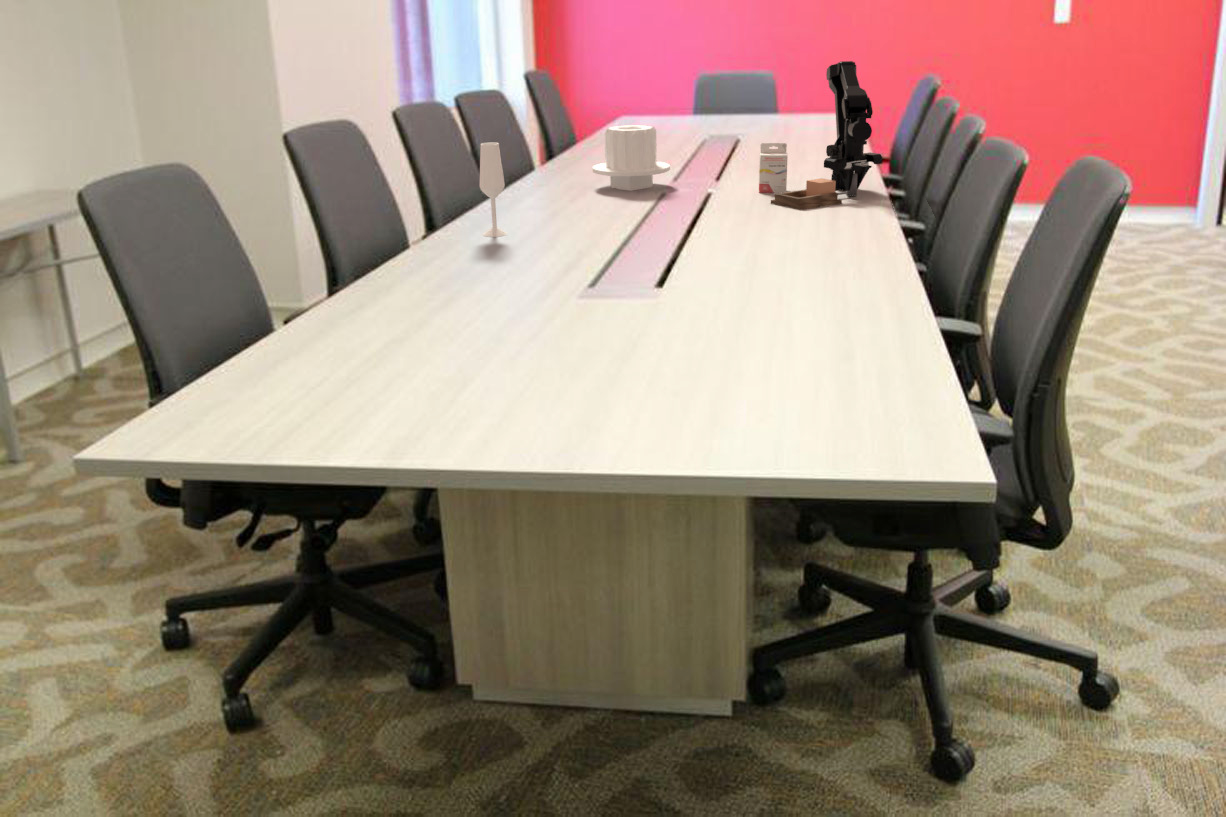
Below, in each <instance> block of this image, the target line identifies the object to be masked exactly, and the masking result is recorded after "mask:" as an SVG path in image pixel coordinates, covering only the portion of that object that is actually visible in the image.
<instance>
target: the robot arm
mask: <svg viewBox="0 0 1226 817" xmlns="http://www.w3.org/2000/svg"><path fill="white" fill-rule="evenodd" d="M825 75H826V80H827V81H828V87H829V89H830V90H831V91H832V93H833V94H834V107H835V125H836V126H835V127H836V140H835V141H834V144H829V145H827V146H826V149H825V150H826V151H825V152H826V156H827V157H826V158H825V159H824V160H823V168H826V169H829V170H831V171H832V173H831V179H830V180H834V181H836V186H835V190H837V191H838V190H839V191H849V190H850V187H851V182H852V177H853V173H857V174H858V178H857V190H859V187H860V185H862V184H861V183H862V182H863V180H864V178H865V176H866V175H867V173H868V172H869V170H870V169H871V168H872V167H873V166H872V165H869V162H870V163H873V165H880V164H883V156H882V155H881V153H877V152H865V153H864V145H867V143H868V139H869V138H871V136H872V132H873V129H872V126H871V124H869V122H867V119H872V116H873V106H872V101H871V100H870V96H868V93H867V91H866V89H863V88H862V87H861V86H860V82H859V80H858V75H857V64H856V62H855V61H852V60H846V61H842V60H841V61H839V62H837V63H835V64H831V65H829V66H828V67H827V68H826V74H825Z"/></svg>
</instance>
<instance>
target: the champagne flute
mask: <svg viewBox="0 0 1226 817" xmlns="http://www.w3.org/2000/svg"><path fill="white" fill-rule="evenodd" d="M500 151H501V150H500V143H499V142H496V141H495V142H494V141H493V142H482V143H480V153H479V154H480V155H479V156H480V157H479V158H480V159H479V189H480V191H482V193H483V194H484V195H486V196H487V198H490V206H491V207H490V208H491V210H490V211H491V221H492V222H491V223H492V227H491V228H489V229H488V230H486V231H485V232H484V233H483V234H482V236H483V237H490V238H493V237H495V238H496V237H497V238H498V237H504V236H506V235H507V236H508V232H506V231H504V230H503V229H501V228H499V227H498V224H497V207H496V206H497V205H496V204H497V203H496V199H497V198H498V197H499V195H501V193H502V192H503V191H504V189H505V187H506V186H505V185H506V184H505V177H504V176H505V175H504V171H503V169H504V168H503V164H502V158H501V152H500Z"/></svg>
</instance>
